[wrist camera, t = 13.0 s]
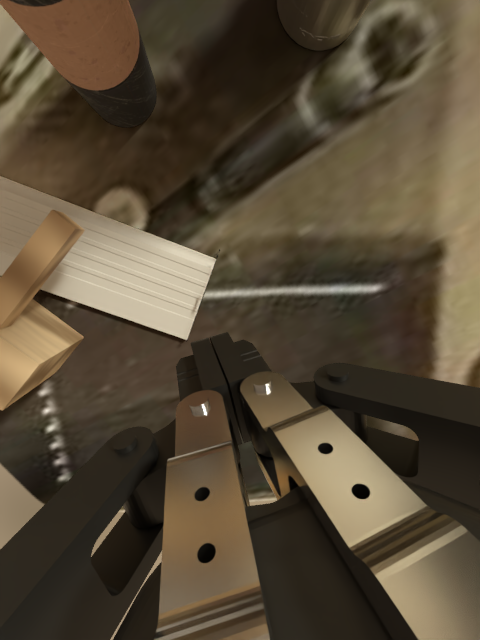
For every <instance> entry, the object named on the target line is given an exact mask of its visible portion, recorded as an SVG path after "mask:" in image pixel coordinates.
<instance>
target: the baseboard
mask: <svg viewBox="0 0 480 640" xmlns="http://www.w3.org/2000/svg"><path fill="white" fill-rule="evenodd" d="M51 210H56V211H59V212H63V213H64V214H66V215H67V216H68V217H69V218H71V219H72V220H73V221H74V222H75V223H77V224H78V225H79V226H80V227H82V228H83V229H84V230H85V231H84V233H83V234H82V235H81V236H80V238H79V239H78V240H77V242H76V243H75V244H74V245H73V247H72V248H71V249H70V251H69V252H68V253H67V254H66V256H65V257H64V258H63V260H62V261H61V262H60V264H59V265H58V266H57V267H56V269H55V270H54V271H53V273H52V274H51V275H50V276H49V278H48V279H47V280H46V282H45V283H44V284H43V285H42V287H41V288H40V289H41V290H44V291H47V292H50V293H52V294H55V295H58V296H61V297H64V298H67V299H70V300H73V301H75V302H78V303H81V304H84V305H87V306H90V307H93V308H96V309H99V310H101V311H104V312H107V313H110V314H113V315H116V316H119V317H122V318H124V319H127V320H130V321H133V322H136V323H139V324H142V325H145V326H148V327H150V328H153V329H156V330H159V331H162V332H165V333H168V334H171V335H174V336H176V337H179V338H182V339H185V340H188V337H189V334H190V331H191V329H192V326H193V323H194V320H195V318H196V315H197V312H198V309H199V308H200V305H201V302H202V299H203V297H204V294H205V290H206V287H207V284H208V282H209V279H210V276H211V273H212V271H213V268H214V265H215V262H216V259H215V258H212V257H209V256H207V255H204V254H202V253H199V252H196V251H194V250H191V249H189V248H186V247H183V246H181V245H178V244H176V243H173V242H170V241H168V240H165V239H163V238H160V237H157V236H155V235H152V234H150V233H147V232H144V231H142V230H139V229H137V228H134V227H132V226H129V225H126V224H124V223H121V222H119V221H116V220H113V219H111V218H108V217H106V216H103V215H100V214H98V213H95V212H93V211H90V210H87V209H85V208H82V207H80V206H77V205H74V204H72V203H69V202H67V201H64V200H61V199H59V198H56V197H54V196H51V195H49V194H46V193H43V192H41V191H38V190H36V189H33V188H30V187H28V186H25V185H23V184H20V183H17V182H15V181H12V180H10V179H7V178H4V177H2V176H0V276H2V275H3V274H4V273H5V271H6V270H7V269H8V267H9V266H10V265H11V263H12V262H13V261H14V259H15V258H16V257H17V255H18V254H19V253H20V251H21V250H22V249H23V247H24V246H25V245H26V243H27V242H28V241H29V239H30V238H31V237H32V235H33V234H34V233H35V231H36V230H37V229H38V227H39V226H40V225H41V223H42V222H43V221H44V219H45V218H46V217H47V215H48V214H49V213H50V211H51ZM219 251H220V250H219ZM217 257H218V256H217ZM186 342H187V341H186Z"/></svg>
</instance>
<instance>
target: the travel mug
mask: <svg viewBox="0 0 480 640" xmlns="http://www.w3.org/2000/svg"><path fill="white" fill-rule="evenodd" d="M0 4H1V5H2V6H3V8H4V9H5V10H6V11H7V12H8V13H9V15H10V16H11V17H12V18H13V19H14V20H15V22H16V23H17V24H18V25H19V26H20V27H21V29H22V30H23V31H24V32H25V33H26V34H27V36H28V37H29V38H30V39H31V40H32V41H33V43H34V44H35V45H36V46H37V47H38V49H39V50H40V51H41V52H42V53H43V54H44V56H45V57H46V58H47V59H48V60H49V61H50V63H51V64H52V65H53V66H54V67H55V68H56V70H57V71H58V72H59V73H60V74H61V75H62V76H63V77H64V78H65V79H66V80H67V81H68V83H69V84H70V85H71V86H72V87H73V88H74V89H75V90H76V91H77V92H78V93H79V94H80V95H81V96H82V97H83V98H84V99H85V100H86V101H87V102H88V104H89V105H90V106H91V107H92V108H93V109H94V110H95V111H96V112H97V113H98V114H99V115H100V116H101V117H102V118H104V119H105V120H106V121H108V122H109V123H111V124H113V125H116V126H119V127H134V126H137V125H139V124H141V123H143V122H144V121H145V120H146V119H147V118H148V117H149V116H150V115H151V113H152V111H153V109H154V106H155V103H156V85H155V81H154V77H153V74H152V71H151V67H150V64H149V61H148V58H147V55H146V51H145V48H144V45H143V42H142V39H141V35H140V32H139V29H138V26H137V23H136V20H135V17H134V15H133V12H132V9H131V7H130V4H129V1H128V0H0Z"/></svg>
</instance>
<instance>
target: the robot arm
mask: <svg viewBox="0 0 480 640" xmlns="http://www.w3.org/2000/svg"><path fill="white" fill-rule="evenodd" d="M370 2H371V0H277V10H278V14H279V18H280V21H281V23H282V25H283V27H284V29H285V31H286V32H287V33H288V35H289V36H290V37H291V38H292V39H293V40H294V41H295V42H296V43H297V44H299V45H301V46H303V47H304V48H307V49H311V50H322V51H323V50H327V49H331V48H334V47H336V46H338V45H340V44H341V43H342V42H343V41H345V40H346V39H347V38H348V37H349V35H350V34H351V33H352V32H353V30H354V29H355V27H356V25H357V24H358V22H359V20H360V18H361V17H362V15H363V13H364V12H365V10H366V8H367V7H368V5H369V4H370ZM210 341H211V343H210ZM191 346H192V350H193V354H194V355H191V356H188V357H184V358H181V359H180V361H179V362H178V364H177V366H176V370H177V378H178V386H179V394H180V403H179V405H178V406H177V409H176V418H175V420H174V421H172V422H171V423H170V424H169V425H168V426H166V427H164V428H163V429H161V430H159V431H158V432H156V433H154V434H153V433H152V432H151V430H150V429H148V428H146V427H132V428H129V429H126V430H123V431H121V432H119V433H118V434H116V435H115V436H113V437H112V438H111V439H110V440H108V441H107V442H106V443H105V444H104V445H103V446H102V447H101V448H100V449H99V450H98V451H97V452H96V454H95V455H94V456H93V457H92V458H91V459H90V460H89V461H88V462H87V463H86V464H85V465H84V466H83V467H82V468H81V469H80V470H79V471H78V472H77V473H76V474H75V475H74V476H73V477H72V478H71V479H70V480H69V481H68V482H67V483H66V484H65V485H64V486H63V487H62V488H61V489H60V490H59V491H58V492H57V493H56V494H55V495H54V496H53V497H52V498H51V499H50V500H49V501H48V502H47V503H46V504H45V505H44V506H43V507H42V508H41V509H40V510H39V511H38V512H37V513H36V514H35V515H34V516H33V517H32V518H31V519H30V520H29V521H28V522H27V523H26V524H25V525H24V526H23V527H22V528H21V530H19V531H18V533H16V534H15V535H14V536H13V537H12V538H11V540H10V541H9V542H8V543H7V544H6V545H5V546H4V547H3V548H2V549H1V550H0V640H110V639H111V637H112V635H113V634H114V632H115V630H116V628H117V626H118V625H119V623H120V622H121V620H122V618H123V616H124V615H125V613H126V611H127V609H128V608H129V606H130V604H131V603H132V601H133V599H134V597H135V596H136V594H137V592H138V591H139V589H140V587H141V585H142V584H143V582H144V580H145V578H146V577H147V575H148V573H149V572H150V570H151V568H152V566H153V565H154V563H155V561H156V560H157V558H158V556H159V554H160V552H161V551H162V562H161V563H160V564H159V565H158V567H157V568H156V569H155V570H154V572H153V573H152V574H151V575H150V576H149V578H148V579H147V581H146V582H145V584H144V585H143V587H142V588H141V590H140V592H139V593H138V595H137V597H136V599H135V600H134V602H133V604H132V606H131V608H130V610H129V612H128V613H127V615H126V617H125V619H124V621H123V622H122V624H121V626H120V628H119V630H118V632H117V634H116V635H115V637H114V639H113V640H480V388H477V387H471V386H466V385H461V384H455V383H450V382H444V381H439V380H433V379H428V378H422V377H417V376H411V375H406V374H400V373H395V372H389V371H384V370H379V369H373V368H368V367H362V366H357V365H351V364H345V363H334V364H328V365H325V366H323V367H321V368H319V369H318V370H317V371H316V372H315V374H314V381H313V382H303V383H290V382H288V381H287V380H286V379H285V378H284V377H283V376H282V375H281V374H279V373H276V372H272V371H271V370H270V368H269V367H268V365H267V364H266V362H265V361H264V360H263V358H262V357H261V356H260V354H259V352H258V351H257V349H256V348H255V347H254V345H253V344H252V343H250V342H248V341H245V340H241V341H238V342H235V343H233V341H232V339H231V337H230V335H229V334H228V332H226V333H223V334H219V335H216V336H212V337H210V340H209V338H206V339H202V340H199V341H195V342H192V343H191ZM366 415H368V416H371V417H375V418H379V419H382V420H386V421H390V422H393V423H397V424H400V425H404V426H406V427H408V428H410V429H411V430H413V431H414V432H415V433H416V435H417V436H418V439H419V441H415V440H411V439H408V438H405V437H401V436H398V435H394V434H391V433H388V432H384V431H381V430H378V429H374V428H371V427H367V417H366ZM238 428H239V429H238ZM239 430H240V433H241V436H242V438H243V441H244V443H245V442H248V441H252V444H253V446H254V450H255V454H256V458H257V461H258V463H259V465H260V467H261V469H262V471H263V473H264V475H265V477H266V479H267V481H268V483H269V485H270V487H271V489H272V491H273V492H274V494H275V496H276V498H277V501H276V502H273V503H270V504H263V505H255V506H250V504H249V499H248V495H247V490H246V486H245V481H244V477H243V472H242V468H241V464H240V452H239V448H238V445H240V444H242V441H241V437H240V433H239ZM122 506H123V507H124V509H125V513H124V514H123V515H122V517H121V518H120V519H119V521H118V522H117V523H116V525H115V526H114V527H113V529H112V530H111V532H110V533H109V534H108V535H107V537H106V538H105V540H104V541H103V542H102V544H101V545H100V546H99V548H98V549H97V550H96V552H95V553H94V554H93V556H92V557H91V553H92V549H93V547H94V544H95V542H96V540H97V539H98V537H99V536H100V535H101V533H102V532H103V531H104V530H105V528H106V527H107V525H108V524H109V523H110V522H111V520H112V519H113V518H114V516H115V515H116V514H117V513H118V511H119V510H120V509H121V507H122Z"/></svg>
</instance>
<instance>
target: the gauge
mask: <svg viewBox="0 0 480 640" xmlns="http://www.w3.org/2000/svg"><path fill="white" fill-rule="evenodd" d="M84 231H85V230H84V229H83V228H82V227H80V226H79V225H78V224H77V223H75V222H74V221H73V220H72V219H71V218H69V217H68V216H67V215H66V214H64V213H63V212H59V211H56V210H51V211H50V213H49V214H48V215H47V217H46V218H45V219H44V221H43V222H42V223H41V225H40V226H39V227H38V229H37V230H36V231H35V233H34V234H33V235H32V237H31V238H30V239H29V241H28V242H27V243H26V245H25V246H24V247H23V249H22V250H21V251H20V253H19V254H18V255H17V257H16V258H15V259H14V261H13V262H12V263H11V265H10V266H9V267H8V269H7V270H6V271H5V273H4V274H3V275H2V276H0V410H2V411H3V410H4V409H5V408H7V407H8V406H10V405H11V404H12V403H14V402H15V401H17V400H18V399H20V398H21V397H22V396H24V395H25V394H27V393H28V392H29V391H31V390H32V389H34V388H35V387H36V386H38V385H39V384H41V383H42V382H43V381H45V380H46V379H48V378H49V377H50V376H52V375H53V374H55V373H56V372H57V370H58V369H59V368H60V367H61V366H62V364H63V363H64V362H65V361H66V359H67V358H68V357H69V356H70V354H71V353H72V352H73V351H74V350H75V348H76V347H77V346H78V345H79V343H80V342H81V341H82V340H83V338H84V337H83V336H82V335H81V334H79V333H78V332H76V331H75V330H74V329H72V328H71V327H70V326H68V325H67V324H66V323H64V322H63V321H62V320H60V319H59V318H58V317H56V316H55V315H54V314H52V313H51V312H50V311H48V310H47V309H46V308H44V307H43V306H42V305H40V304H39V303H38V302H36V301H35V300H34V299H32V298H33V297H34V296H35V295H36V293H37V292H38V291H39V289H40V288H41V287H42V285H43V284H44V283H45V282H46V280H47V279H48V278H49V276H50V275H51V274H52V273H53V271H54V270H55V269H56V267H57V266H58V265H59V264H60V262H61V261H62V260H63V258H64V257H65V256H66V254H67V253H68V252H69V251H70V249H71V248H72V247H73V245H74V244H75V243H76V242H77V240H78V239H79V238H80V236H81V235H82V234H83V233H84Z"/></svg>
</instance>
